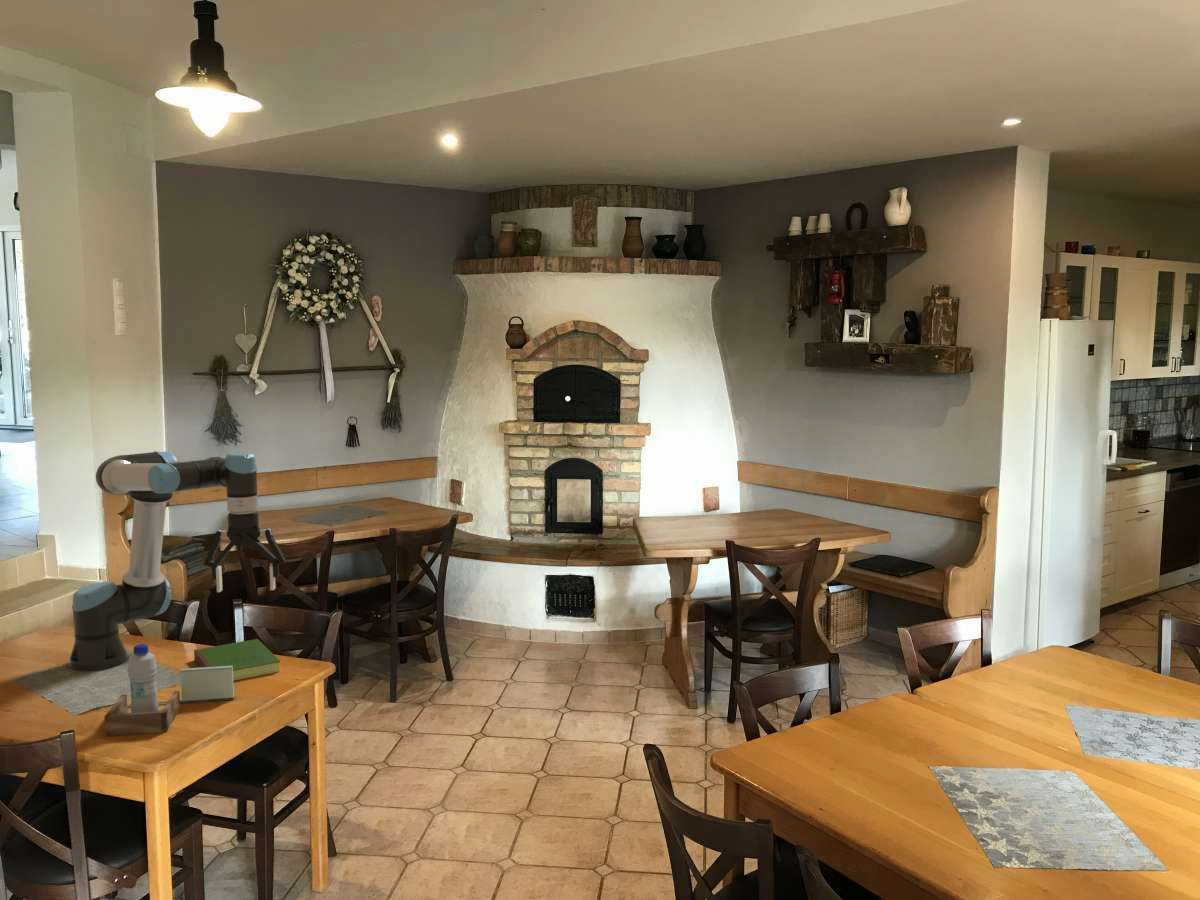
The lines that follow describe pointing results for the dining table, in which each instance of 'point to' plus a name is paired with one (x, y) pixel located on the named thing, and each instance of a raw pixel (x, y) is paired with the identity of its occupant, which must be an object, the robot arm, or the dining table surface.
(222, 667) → the pale grey flat panel
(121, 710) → the cradle
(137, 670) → the bottle
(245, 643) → the hardcover book
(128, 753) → the dining table surface
